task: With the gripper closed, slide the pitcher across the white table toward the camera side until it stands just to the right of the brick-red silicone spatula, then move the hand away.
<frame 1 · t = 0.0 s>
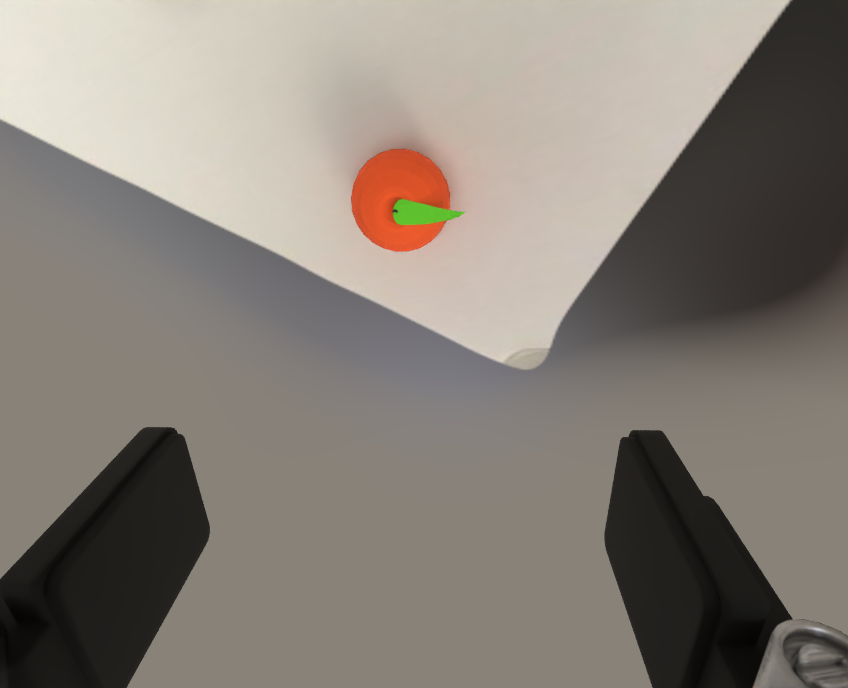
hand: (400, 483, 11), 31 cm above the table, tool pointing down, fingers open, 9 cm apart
clementine: (412, 193, 39), on the table
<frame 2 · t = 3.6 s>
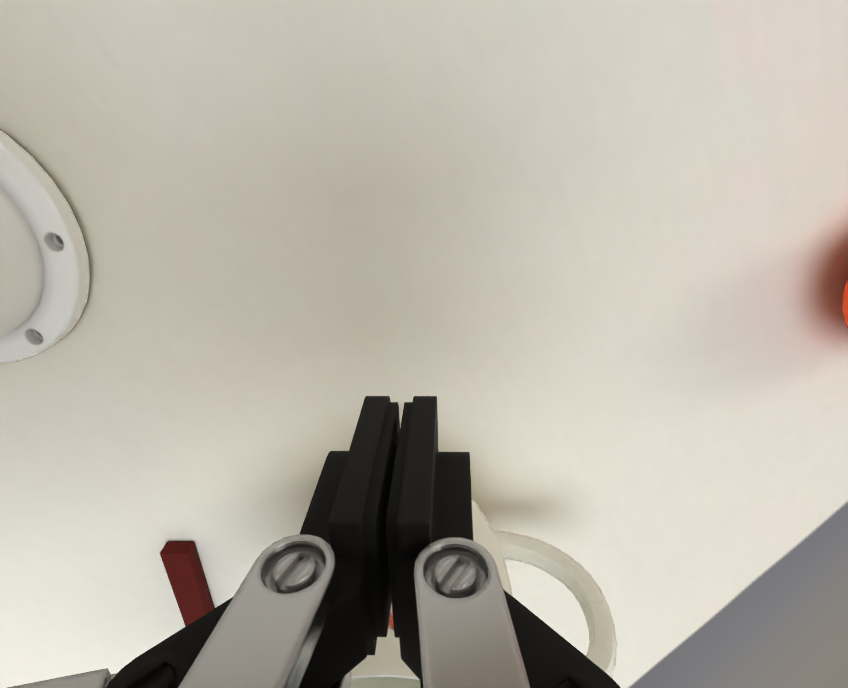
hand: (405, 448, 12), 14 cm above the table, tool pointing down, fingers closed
spatula: (215, 649, 38), on the table
pitcher: (425, 504, 31), on the table
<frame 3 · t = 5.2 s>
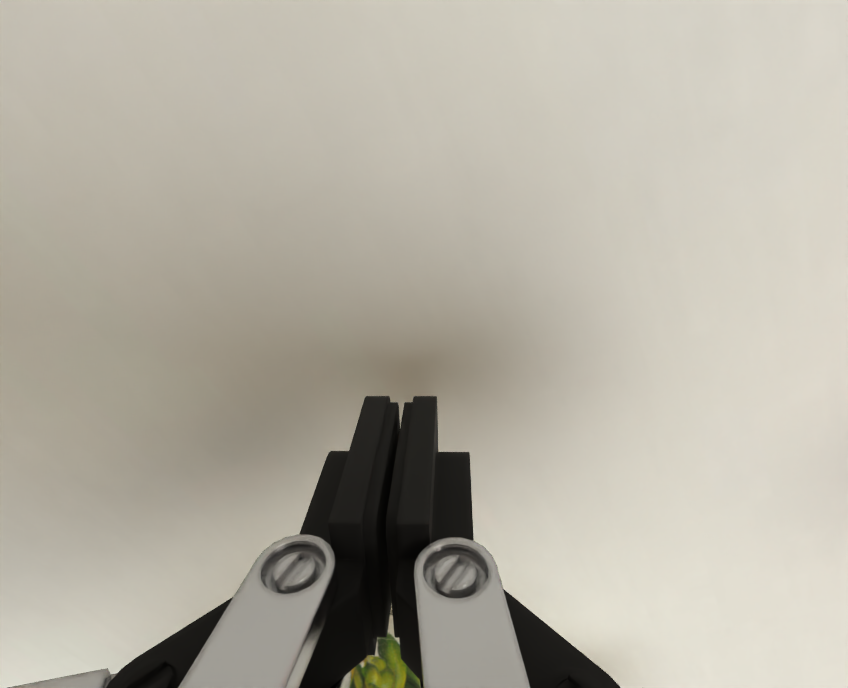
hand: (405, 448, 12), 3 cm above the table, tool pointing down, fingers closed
pitcher: (416, 663, 21), on the table
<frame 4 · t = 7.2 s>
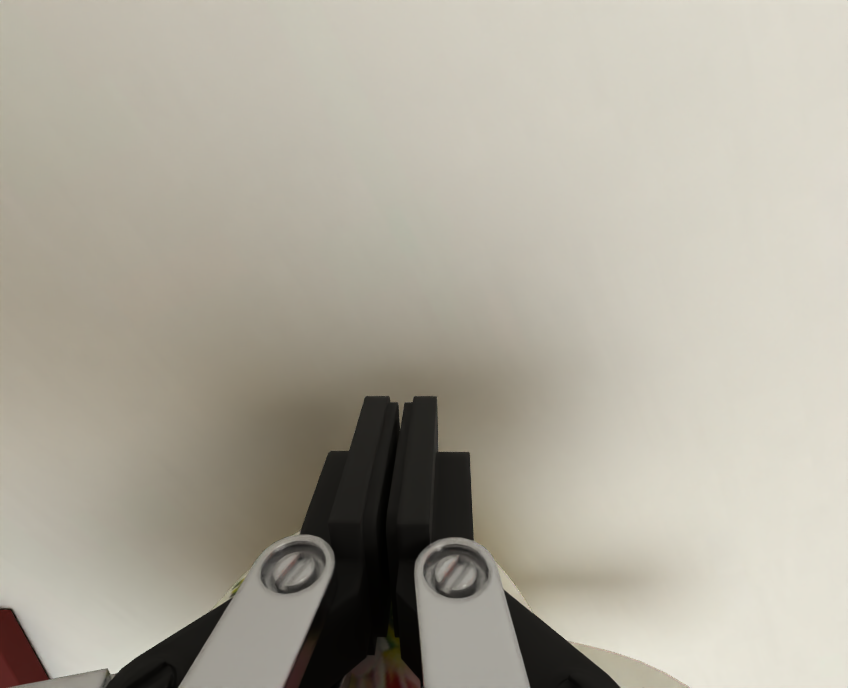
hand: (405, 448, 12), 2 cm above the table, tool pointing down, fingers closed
pitcher: (419, 574, 17), on the table, touching gripper
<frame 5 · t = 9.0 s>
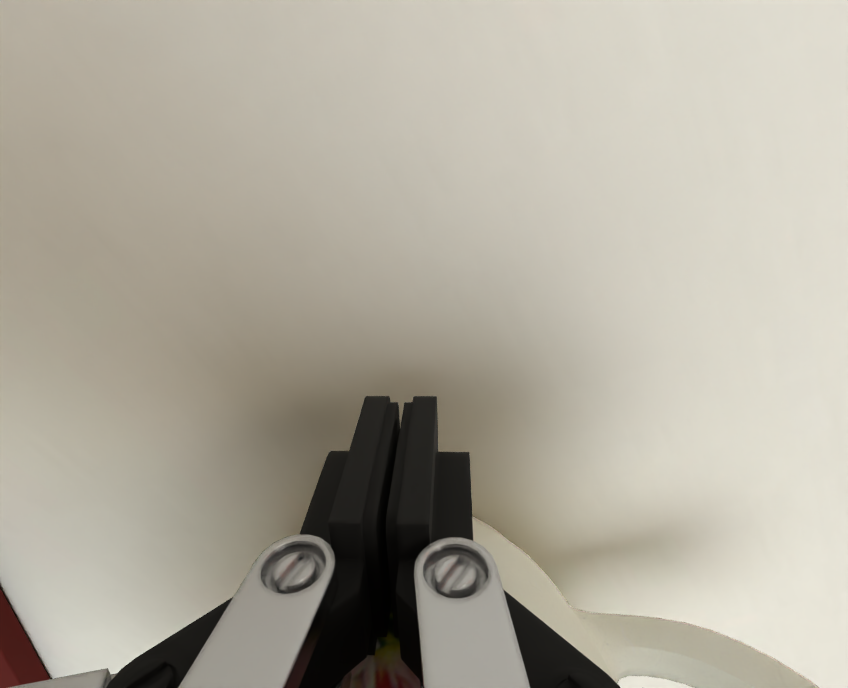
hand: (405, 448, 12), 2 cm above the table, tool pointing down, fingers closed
spatula: (27, 673, 21), on the table
pitcher: (452, 571, 17), on the table, touching gripper
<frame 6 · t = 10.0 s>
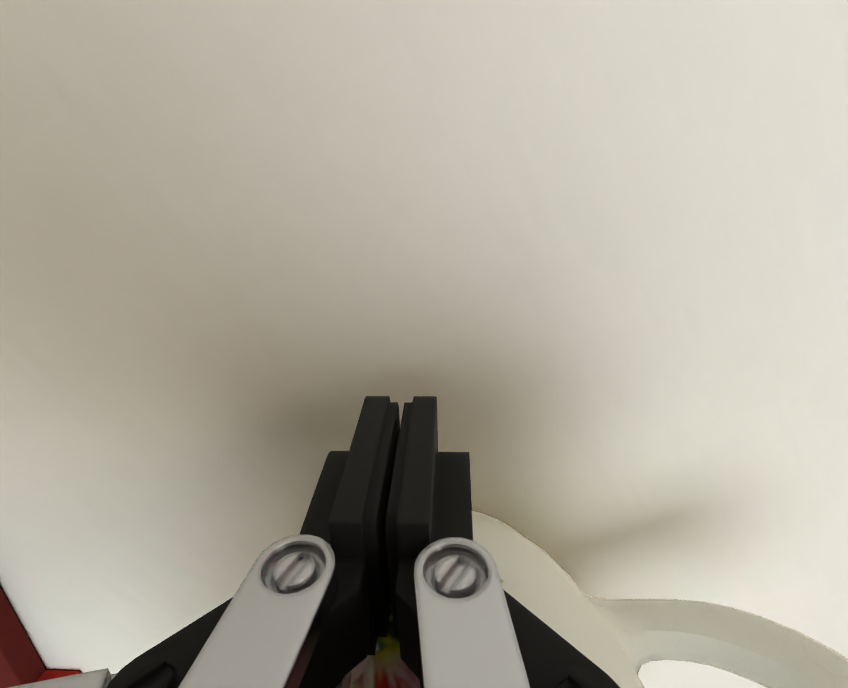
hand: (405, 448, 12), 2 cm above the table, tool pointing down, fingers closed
pitcher: (470, 569, 17), on the table, touching gripper
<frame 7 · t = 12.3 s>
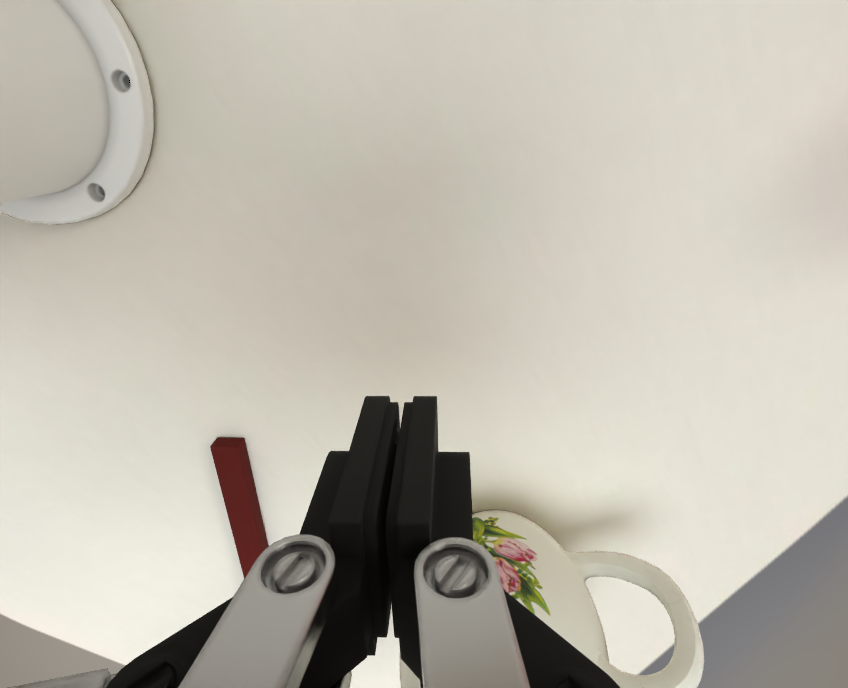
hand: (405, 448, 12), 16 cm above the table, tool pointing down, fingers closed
spatula: (260, 564, 37), on the table
pitcher: (510, 542, 34), on the table
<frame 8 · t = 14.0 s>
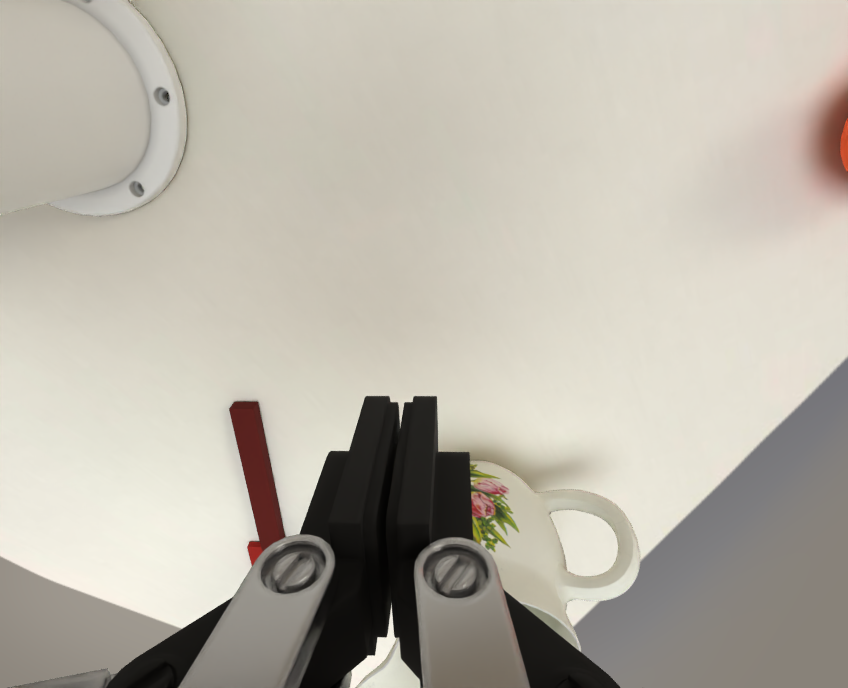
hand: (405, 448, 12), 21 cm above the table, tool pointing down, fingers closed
spatula: (270, 515, 42), on the table
pitcher: (487, 488, 40), on the table
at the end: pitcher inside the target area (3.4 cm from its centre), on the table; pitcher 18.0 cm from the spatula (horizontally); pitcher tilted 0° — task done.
